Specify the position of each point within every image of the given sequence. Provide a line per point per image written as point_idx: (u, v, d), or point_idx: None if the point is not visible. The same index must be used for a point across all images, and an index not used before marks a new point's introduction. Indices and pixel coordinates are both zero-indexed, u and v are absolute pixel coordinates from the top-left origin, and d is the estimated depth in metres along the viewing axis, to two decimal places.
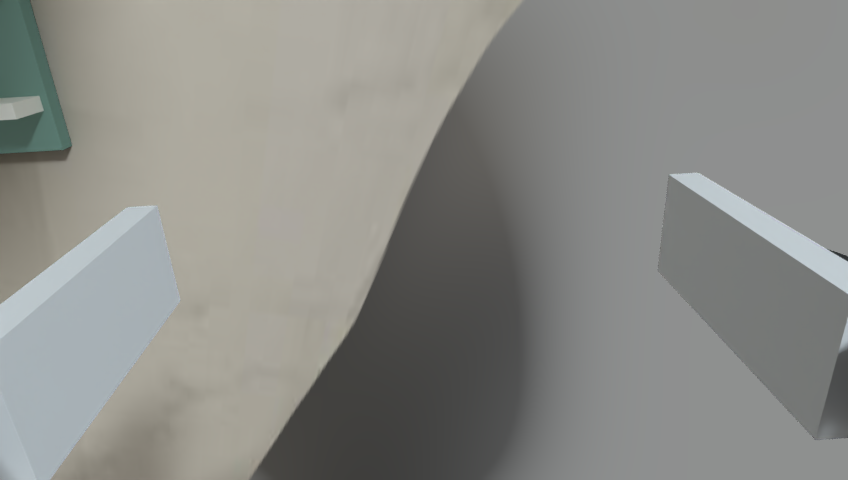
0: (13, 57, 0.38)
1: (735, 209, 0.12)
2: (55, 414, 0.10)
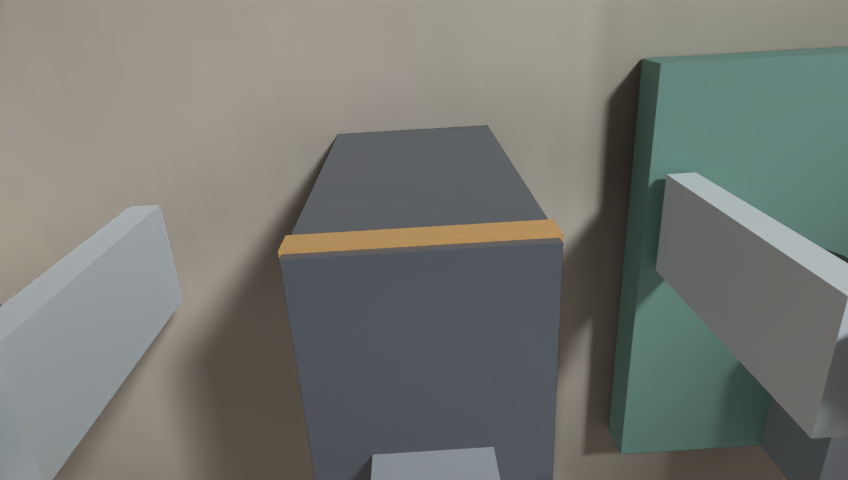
0: None
1: (732, 208, 0.12)
2: (59, 412, 0.10)
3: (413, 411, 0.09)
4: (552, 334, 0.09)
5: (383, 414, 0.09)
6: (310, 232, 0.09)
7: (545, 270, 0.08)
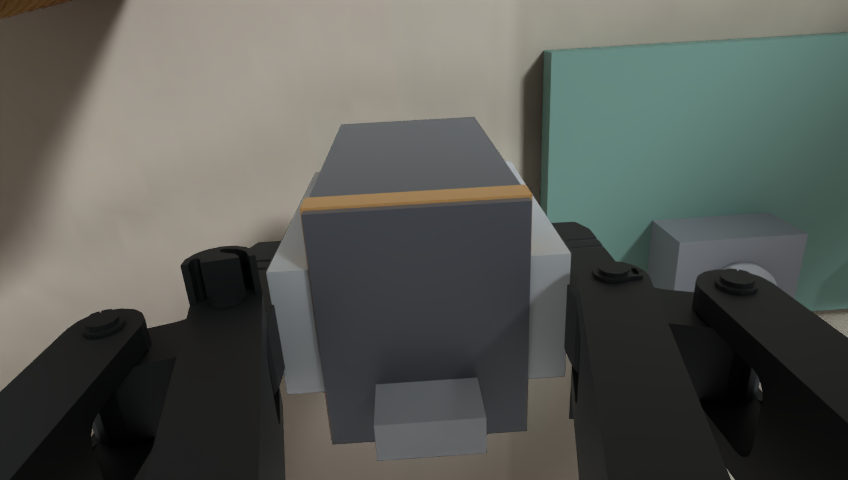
0: None
1: None
2: None
3: (410, 345, 0.11)
4: (524, 278, 0.11)
5: (386, 347, 0.11)
6: (324, 196, 0.11)
7: (518, 223, 0.10)
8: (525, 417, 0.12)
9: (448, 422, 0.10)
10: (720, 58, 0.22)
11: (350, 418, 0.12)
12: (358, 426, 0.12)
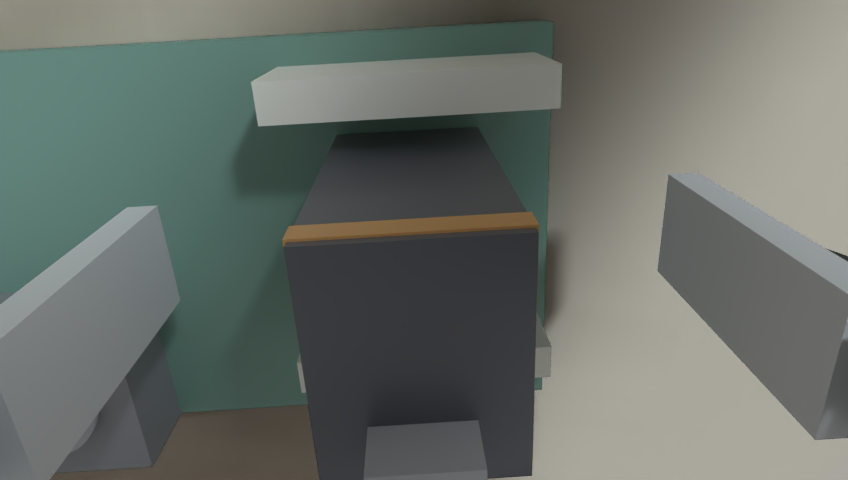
0: None
1: (735, 209, 0.12)
2: (55, 414, 0.10)
3: (404, 386, 0.10)
4: (530, 315, 0.10)
5: (378, 388, 0.10)
6: (310, 224, 0.10)
7: (523, 257, 0.09)
8: (530, 461, 0.11)
9: (445, 474, 0.09)
10: None
11: (340, 462, 0.11)
12: (349, 470, 0.11)
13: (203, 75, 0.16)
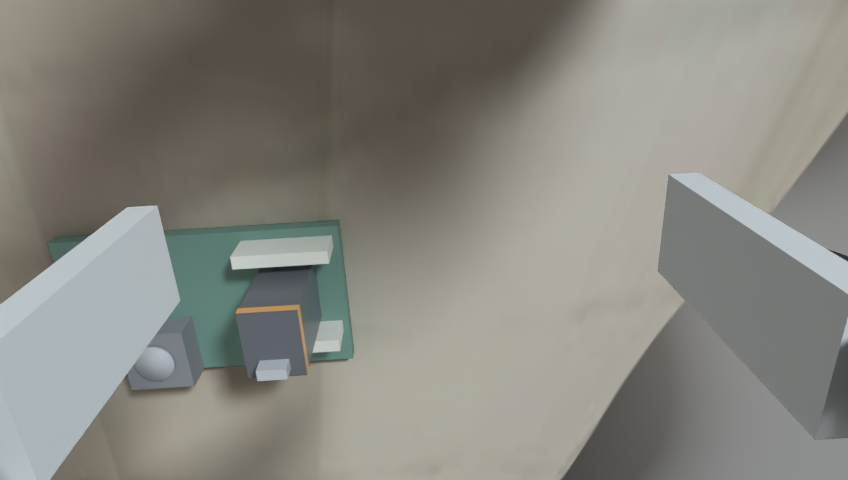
0: (327, 293, 0.47)
1: (735, 209, 0.12)
2: (55, 414, 0.10)
3: (268, 349, 0.39)
4: (298, 331, 0.38)
5: (261, 350, 0.39)
6: (243, 307, 0.39)
7: (294, 317, 0.38)
8: (305, 370, 0.40)
9: (275, 370, 0.38)
10: None
11: (253, 370, 0.40)
12: (255, 373, 0.40)
13: (214, 244, 0.45)
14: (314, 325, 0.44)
